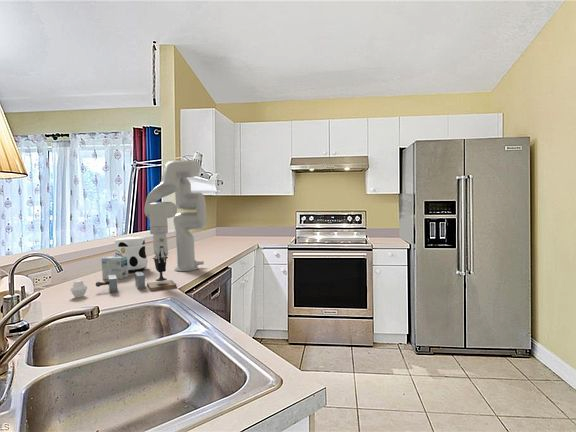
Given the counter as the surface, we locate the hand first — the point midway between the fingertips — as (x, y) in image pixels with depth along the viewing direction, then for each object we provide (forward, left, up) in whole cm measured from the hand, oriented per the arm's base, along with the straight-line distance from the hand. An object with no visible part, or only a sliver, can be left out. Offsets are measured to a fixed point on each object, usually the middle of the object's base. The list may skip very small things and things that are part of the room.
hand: (161, 270), depth 172 cm
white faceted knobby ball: (+33, -2, -8) cm, 34 cm away
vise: (+17, -6, -8) cm, 19 cm away
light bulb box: (+17, -36, -8) cm, 41 cm away
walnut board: (0, 0, -8) cm, 8 cm away
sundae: (0, 0, -5) cm, 5 cm away
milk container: (+8, -52, -8) cm, 53 cm away
